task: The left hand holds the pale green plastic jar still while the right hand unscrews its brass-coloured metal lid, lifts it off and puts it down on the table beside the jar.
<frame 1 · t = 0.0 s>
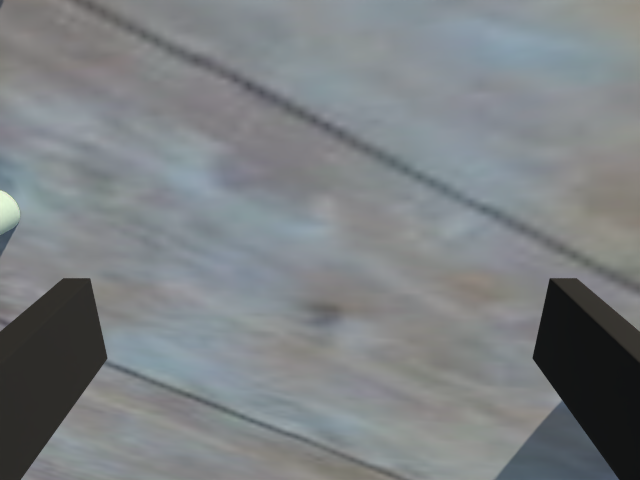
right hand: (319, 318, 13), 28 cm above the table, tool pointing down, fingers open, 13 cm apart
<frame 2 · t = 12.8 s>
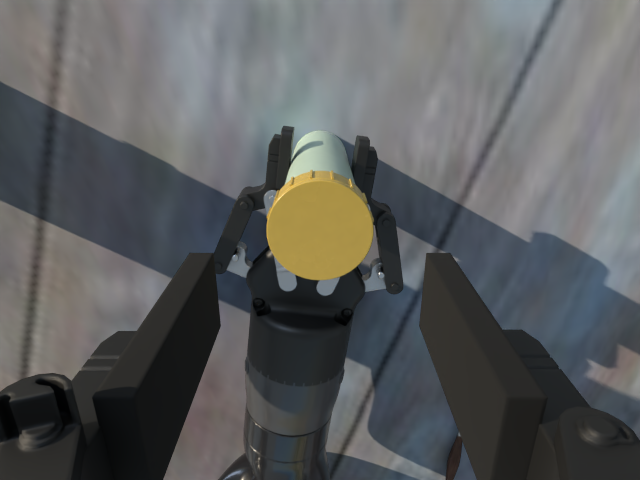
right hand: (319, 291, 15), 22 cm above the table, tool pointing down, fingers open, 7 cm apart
left hand: (326, 134, 28), fingers closed on jar, 4 cm apart
jar: (320, 157, 35), on the table, touching left hand
lid: (320, 230, 20), point 16 cm above the table, screwed on, not yet turned
fork: (456, 438, 46), on the table
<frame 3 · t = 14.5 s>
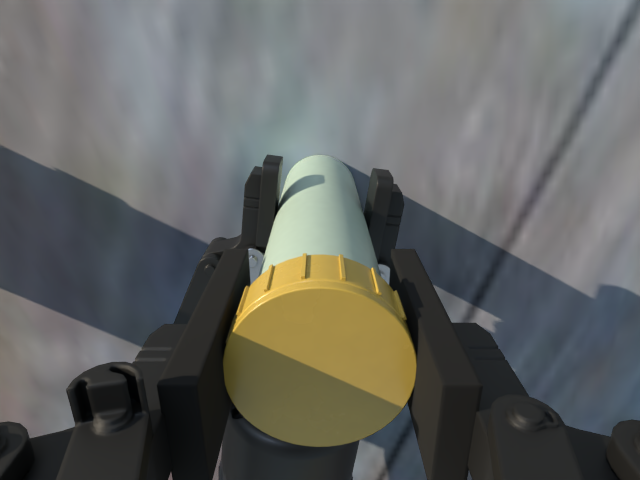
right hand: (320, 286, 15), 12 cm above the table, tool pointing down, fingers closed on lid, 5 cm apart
jar: (320, 189, 26), on the table, touching left hand
lid: (319, 364, 11), point 16 cm above the table, screwed on, not yet turned, touching right hand
when the right hand's fingers open (12 cm above the table, at t = 16.0 s): lid stays where it is, point 16 cm above the table.
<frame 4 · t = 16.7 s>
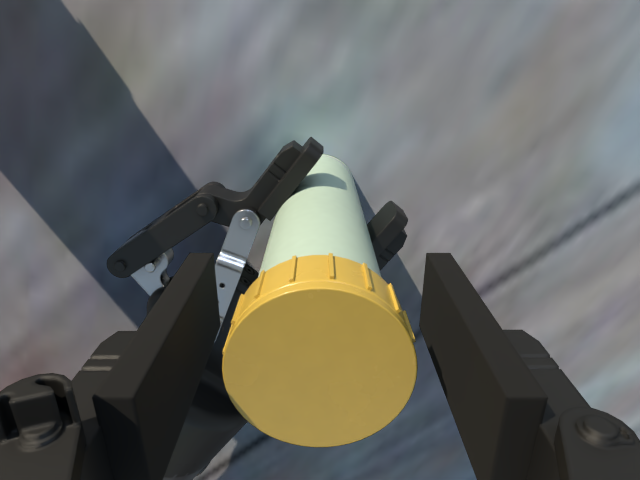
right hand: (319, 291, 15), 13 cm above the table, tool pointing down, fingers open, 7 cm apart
left hand: (358, 179, 20), fingers closed on jar, 4 cm apart
jar: (319, 188, 26), on the table, touching left hand
lid: (319, 365, 11), point 16 cm above the table, turned 105° so far, risen 0.2 cm, still on its thread
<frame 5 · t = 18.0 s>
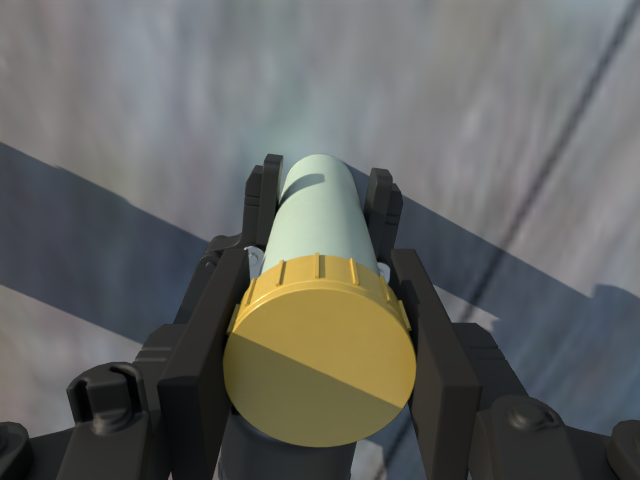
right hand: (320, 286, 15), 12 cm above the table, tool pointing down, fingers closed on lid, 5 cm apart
jar: (319, 189, 26), on the table, touching left hand
lid: (319, 365, 11), point 16 cm above the table, turned 105° so far, risen 0.2 cm, still on its thread, touching right hand
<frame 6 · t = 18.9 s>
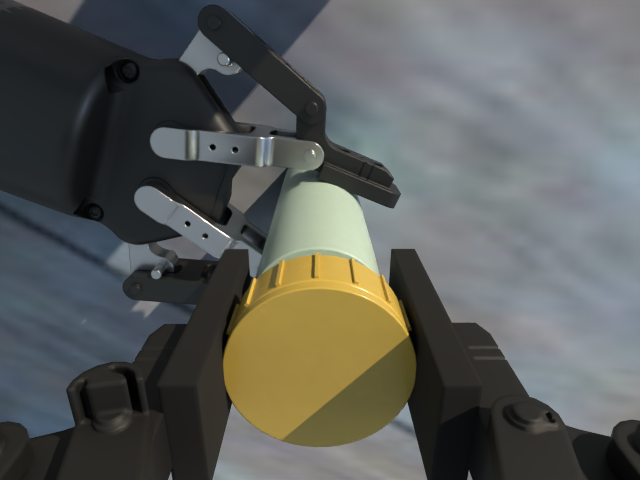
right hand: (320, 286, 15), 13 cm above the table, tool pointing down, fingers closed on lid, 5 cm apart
left hand: (371, 240, 21), fingers closed on jar, 4 cm apart
jar: (318, 184, 27), on the table, touching left hand
lid: (319, 365, 11), point 17 cm above the table, off its thread, touching right hand
when the right hand's fingers open (0 cm above the table, at t = 23.9 s): lid drops 3 cm, point 2 cm above the table.
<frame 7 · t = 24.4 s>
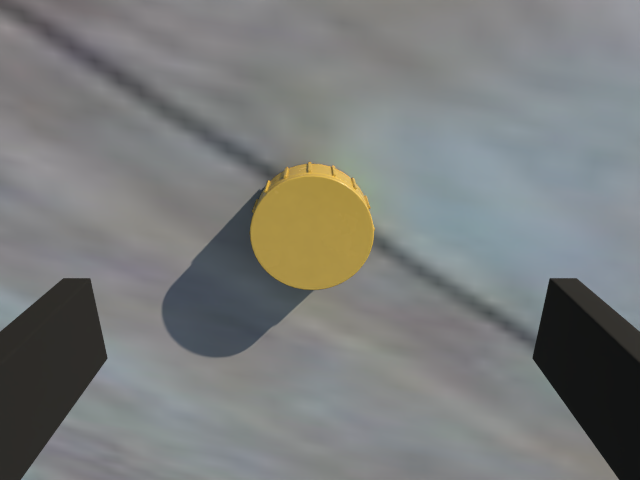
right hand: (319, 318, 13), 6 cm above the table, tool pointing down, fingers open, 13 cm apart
lid: (312, 232, 17), point 2 cm above the table, off its thread
when the left hand's fingers open (6 cm above the table, at t = 24.5 s): jar stays where it is, on the table.
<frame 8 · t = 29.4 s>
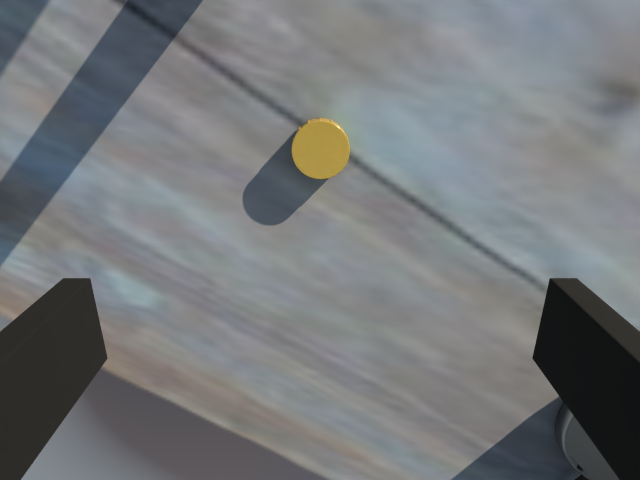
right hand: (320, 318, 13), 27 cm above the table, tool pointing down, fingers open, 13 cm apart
lid: (320, 150, 36), point 2 cm above the table, off its thread
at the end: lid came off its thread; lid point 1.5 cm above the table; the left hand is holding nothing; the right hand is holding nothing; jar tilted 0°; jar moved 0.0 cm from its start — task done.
